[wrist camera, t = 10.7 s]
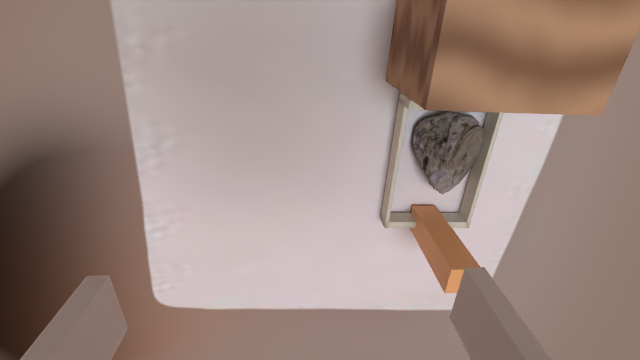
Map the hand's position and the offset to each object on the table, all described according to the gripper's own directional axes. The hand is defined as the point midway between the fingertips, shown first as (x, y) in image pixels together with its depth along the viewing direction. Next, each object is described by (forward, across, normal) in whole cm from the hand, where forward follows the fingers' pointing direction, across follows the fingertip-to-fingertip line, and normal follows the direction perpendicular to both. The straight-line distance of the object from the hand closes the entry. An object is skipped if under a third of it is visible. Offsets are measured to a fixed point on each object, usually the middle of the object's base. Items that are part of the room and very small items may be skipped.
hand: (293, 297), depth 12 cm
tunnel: (+31, +19, +7) cm, 38 cm away
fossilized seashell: (+32, +20, -6) cm, 38 cm away
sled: (+31, +19, -9) cm, 37 cm away
